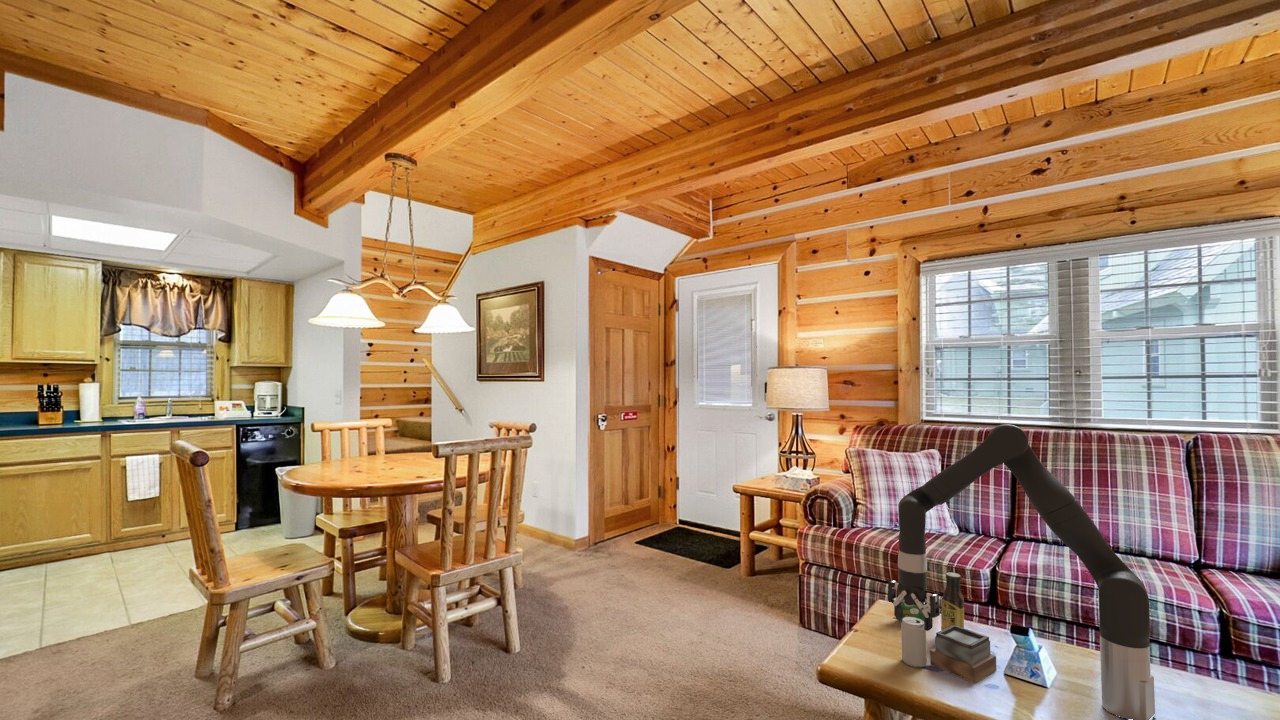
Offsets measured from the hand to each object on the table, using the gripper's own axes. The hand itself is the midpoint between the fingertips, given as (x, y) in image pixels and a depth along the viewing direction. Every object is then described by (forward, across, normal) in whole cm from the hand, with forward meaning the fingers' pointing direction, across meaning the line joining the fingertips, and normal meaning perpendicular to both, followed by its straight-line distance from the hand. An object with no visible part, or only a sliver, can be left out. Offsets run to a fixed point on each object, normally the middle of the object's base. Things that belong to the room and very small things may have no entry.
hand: (912, 624), depth 161 cm
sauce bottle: (+11, +2, -25) cm, 27 cm away
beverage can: (+11, 0, 0) cm, 11 cm away
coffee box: (+11, +16, -26) cm, 32 cm away
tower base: (+11, -9, -9) cm, 17 cm away
